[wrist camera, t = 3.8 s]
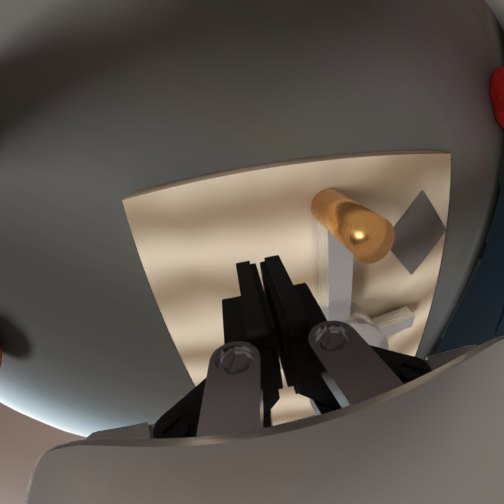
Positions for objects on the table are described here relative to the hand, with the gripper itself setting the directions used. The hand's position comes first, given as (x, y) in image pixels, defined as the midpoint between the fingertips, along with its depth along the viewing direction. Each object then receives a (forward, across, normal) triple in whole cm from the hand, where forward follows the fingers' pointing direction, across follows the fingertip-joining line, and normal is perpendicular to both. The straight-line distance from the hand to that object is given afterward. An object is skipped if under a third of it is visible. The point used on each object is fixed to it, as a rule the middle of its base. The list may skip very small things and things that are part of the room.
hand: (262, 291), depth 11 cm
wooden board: (+10, -6, +12) cm, 16 cm away
